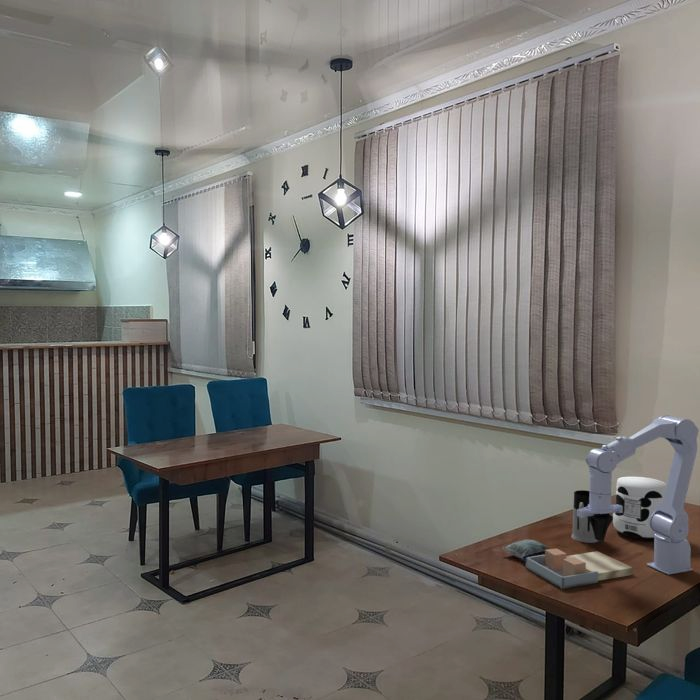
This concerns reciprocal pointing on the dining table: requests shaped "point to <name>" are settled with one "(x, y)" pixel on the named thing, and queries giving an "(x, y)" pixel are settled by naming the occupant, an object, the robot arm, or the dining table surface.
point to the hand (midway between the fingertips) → (599, 539)
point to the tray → (559, 574)
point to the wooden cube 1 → (554, 559)
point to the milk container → (637, 505)
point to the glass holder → (582, 519)
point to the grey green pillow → (526, 549)
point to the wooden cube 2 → (573, 566)
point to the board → (603, 565)
